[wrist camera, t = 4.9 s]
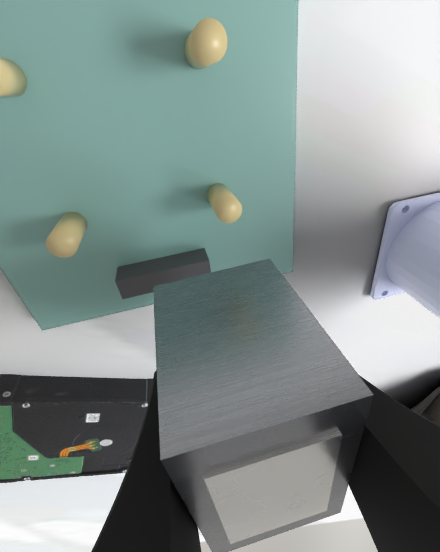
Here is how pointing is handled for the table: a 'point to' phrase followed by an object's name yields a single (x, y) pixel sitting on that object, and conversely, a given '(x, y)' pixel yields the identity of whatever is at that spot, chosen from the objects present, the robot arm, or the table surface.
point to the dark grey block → (253, 405)
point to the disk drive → (68, 425)
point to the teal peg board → (142, 146)
